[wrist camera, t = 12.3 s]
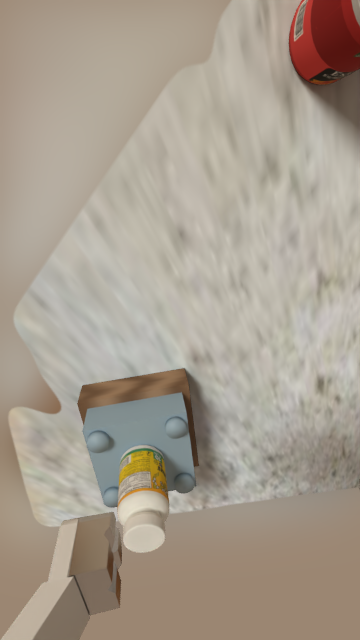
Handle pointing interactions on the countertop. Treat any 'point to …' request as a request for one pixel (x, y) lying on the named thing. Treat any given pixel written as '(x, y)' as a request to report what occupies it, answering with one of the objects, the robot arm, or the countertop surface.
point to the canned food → (325, 39)
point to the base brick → (140, 395)
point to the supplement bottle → (143, 498)
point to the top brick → (140, 440)
